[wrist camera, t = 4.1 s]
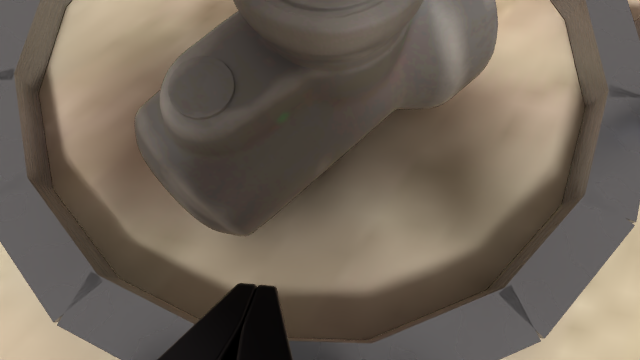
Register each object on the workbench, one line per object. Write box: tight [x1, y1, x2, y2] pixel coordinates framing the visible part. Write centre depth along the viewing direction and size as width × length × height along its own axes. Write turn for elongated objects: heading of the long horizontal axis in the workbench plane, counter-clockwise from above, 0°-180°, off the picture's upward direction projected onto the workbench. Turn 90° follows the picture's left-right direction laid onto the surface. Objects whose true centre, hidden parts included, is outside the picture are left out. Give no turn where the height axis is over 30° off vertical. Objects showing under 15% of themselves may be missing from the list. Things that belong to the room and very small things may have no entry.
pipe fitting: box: [135, 0, 498, 236], centre depth 13 cm, size 12×8×10 cm
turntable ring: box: [0, 0, 640, 360], centre depth 18 cm, size 30×30×2 cm
